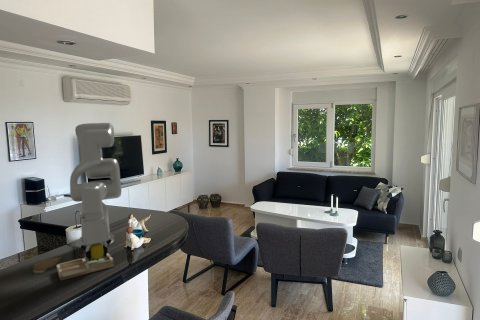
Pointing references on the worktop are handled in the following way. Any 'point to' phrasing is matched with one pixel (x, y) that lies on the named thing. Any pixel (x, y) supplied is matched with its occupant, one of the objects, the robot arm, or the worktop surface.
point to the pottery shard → (45, 265)
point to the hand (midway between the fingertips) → (97, 257)
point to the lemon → (96, 251)
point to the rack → (83, 266)
